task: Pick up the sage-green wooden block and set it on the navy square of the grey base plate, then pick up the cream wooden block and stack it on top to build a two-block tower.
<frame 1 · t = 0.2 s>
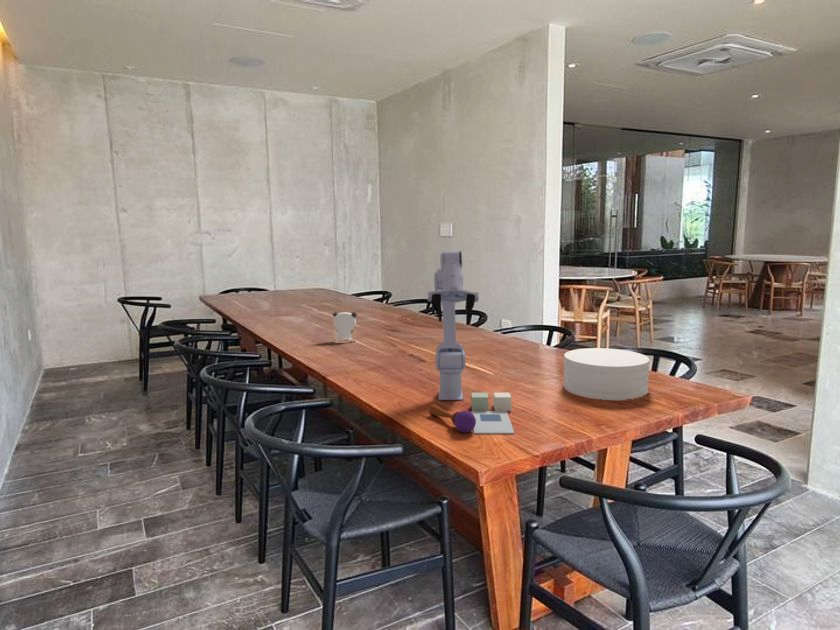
hand: (454, 319, 155), 31 cm above the table, tool tilted 45°, fingers open, 7 cm apart
kendama: (451, 424, 161), on the table
block base: (479, 408, 175), on the table
block top: (502, 408, 174), on the table
panda figurine: (345, 341, 282), on the table
grey base plate: (491, 422, 162), on the table
plate stack: (604, 389, 194), on the table
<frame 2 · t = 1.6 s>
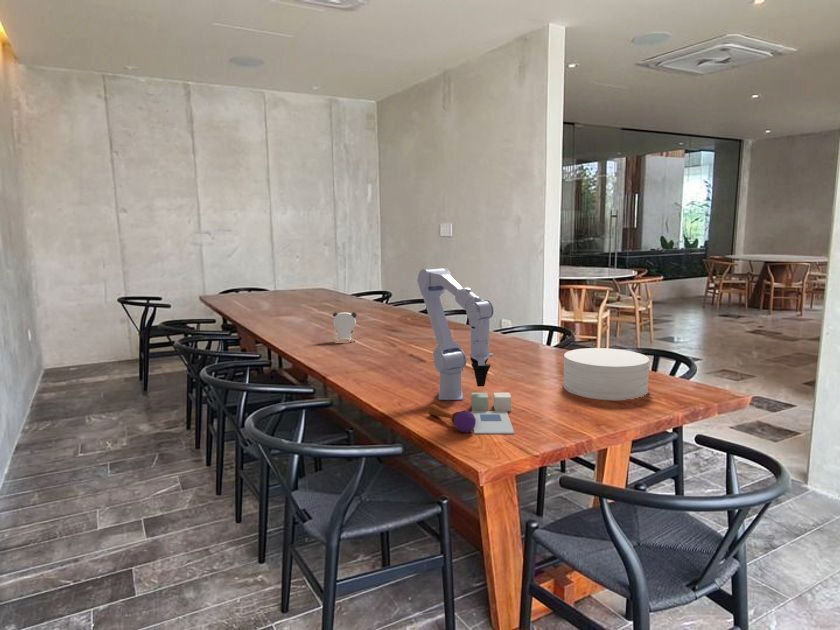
hand: (479, 382, 173), 8 cm above the table, tool pointing down, fingers open, 7 cm apart
kendama: (450, 424, 161), on the table, touching grey base plate
everything else where it was.
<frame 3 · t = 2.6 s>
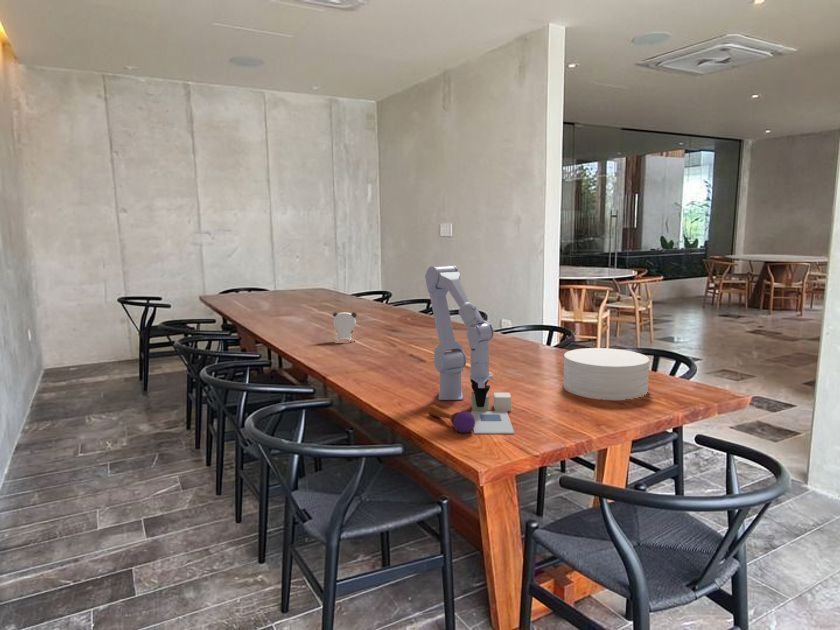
hand: (479, 404, 174), 1 cm above the table, tool pointing down, fingers closed on block base, 5 cm apart
kendama: (450, 425, 161), on the table
block base: (479, 408, 175), on the table, touching gripper
everything else where it was.
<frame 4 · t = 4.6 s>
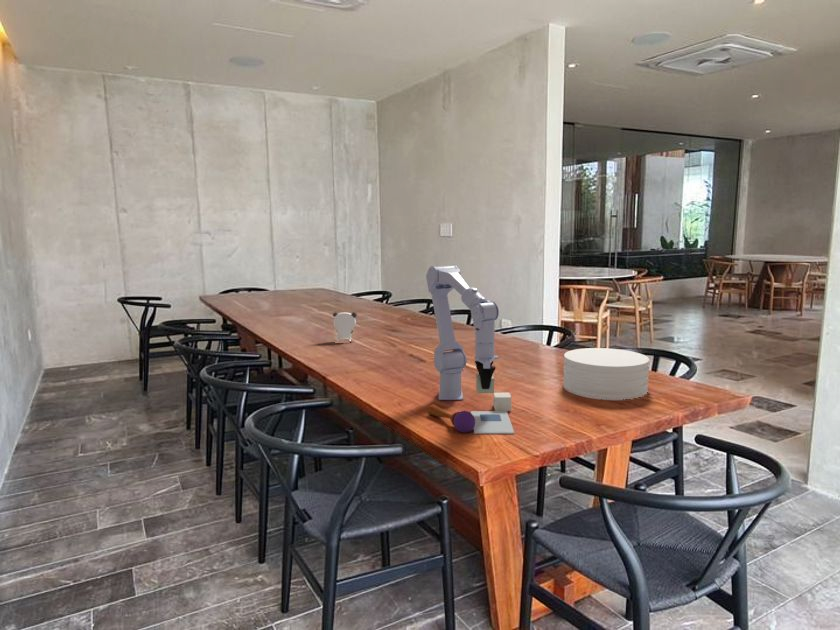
hand: (484, 386, 169), 9 cm above the table, tool pointing down, fingers closed on block base, 5 cm apart
block base: (485, 390, 169), point 7 cm above the table, touching gripper
everything else where it was.
when the fingers open (3 cm above the table, at t = 6.6 s): block base stays where it is, resting on grey base plate.
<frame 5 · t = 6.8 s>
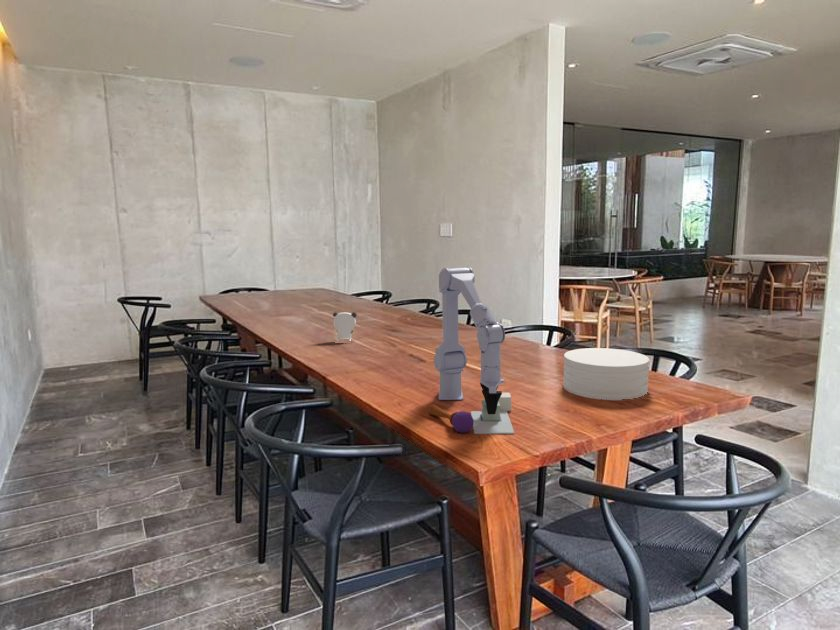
hand: (490, 410, 164), 3 cm above the table, tool pointing down, fingers open, 6 cm apart
block base: (490, 417, 165), resting on grey base plate
everything else where it was.
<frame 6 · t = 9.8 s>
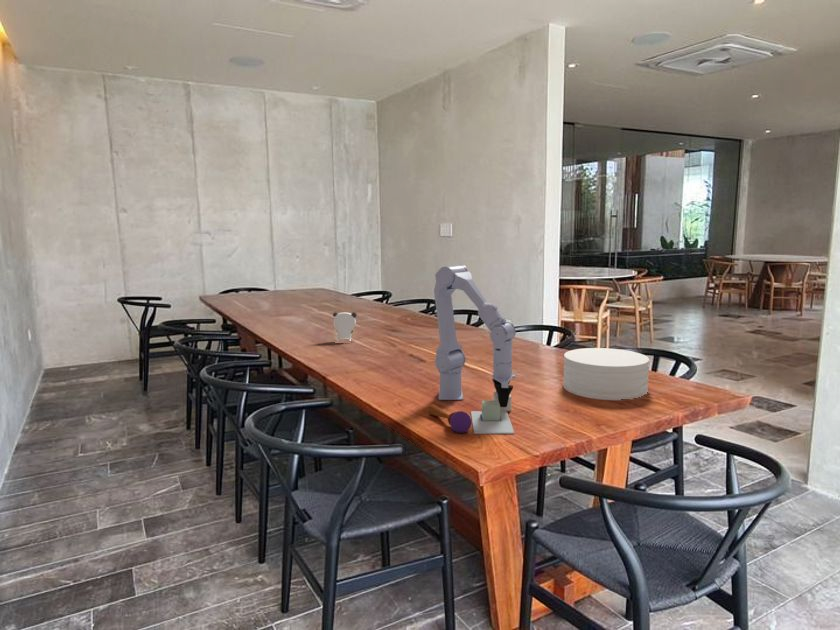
hand: (502, 403, 174), 1 cm above the table, tool pointing down, fingers closed on block top, 5 cm apart
block top: (502, 408, 174), on the table, touching gripper
everything else where it was.
when the fingers open (7 cm above the table, at t = 13.6 s): block top stays where it is, resting on block base.
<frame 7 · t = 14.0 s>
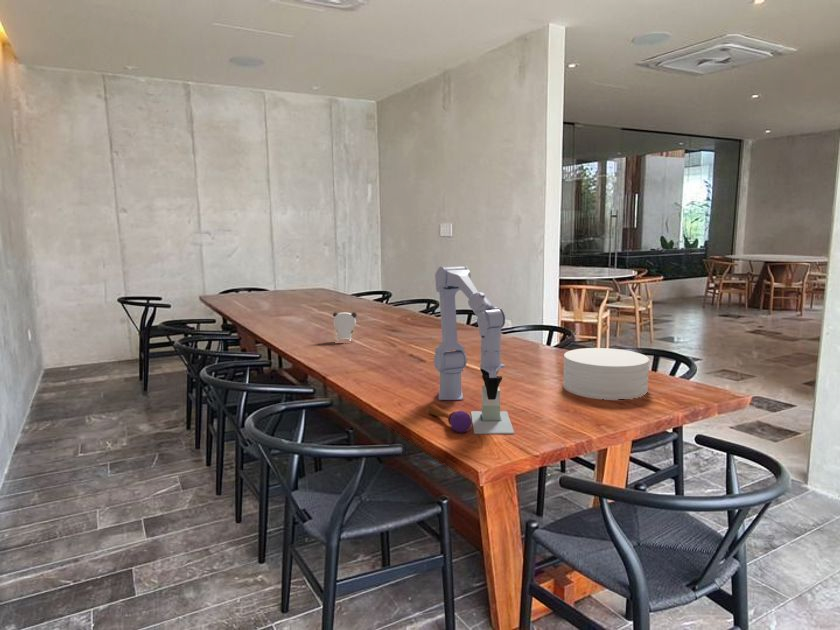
hand: (490, 395, 163), 7 cm above the table, tool pointing down, fingers open, 7 cm apart
block base: (490, 417, 165), resting on grey base plate, touching block top
block top: (490, 403, 164), point 5 cm above the table, touching block base
everything else where it was.
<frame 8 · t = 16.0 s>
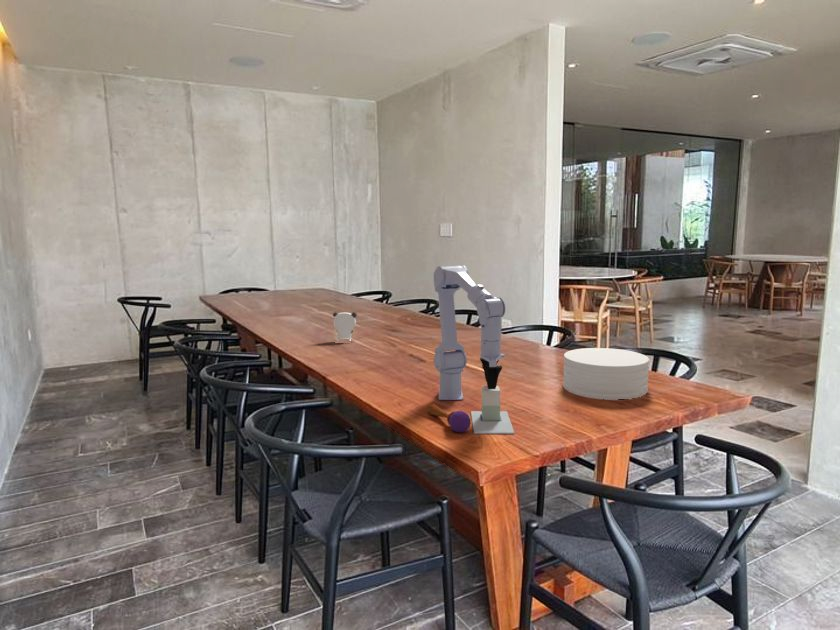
hand: (490, 385, 163), 10 cm above the table, tool pointing down, fingers open, 7 cm apart
nothing on the table moved.
at the end: block base 0.0 cm from the target spot on the grey base plate, point 0.4 cm above the grey base plate's base; block top 0.0 cm from the target spot on the grey base plate, point 4.9 cm above the grey base plate's base; block top tilted 0° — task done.
